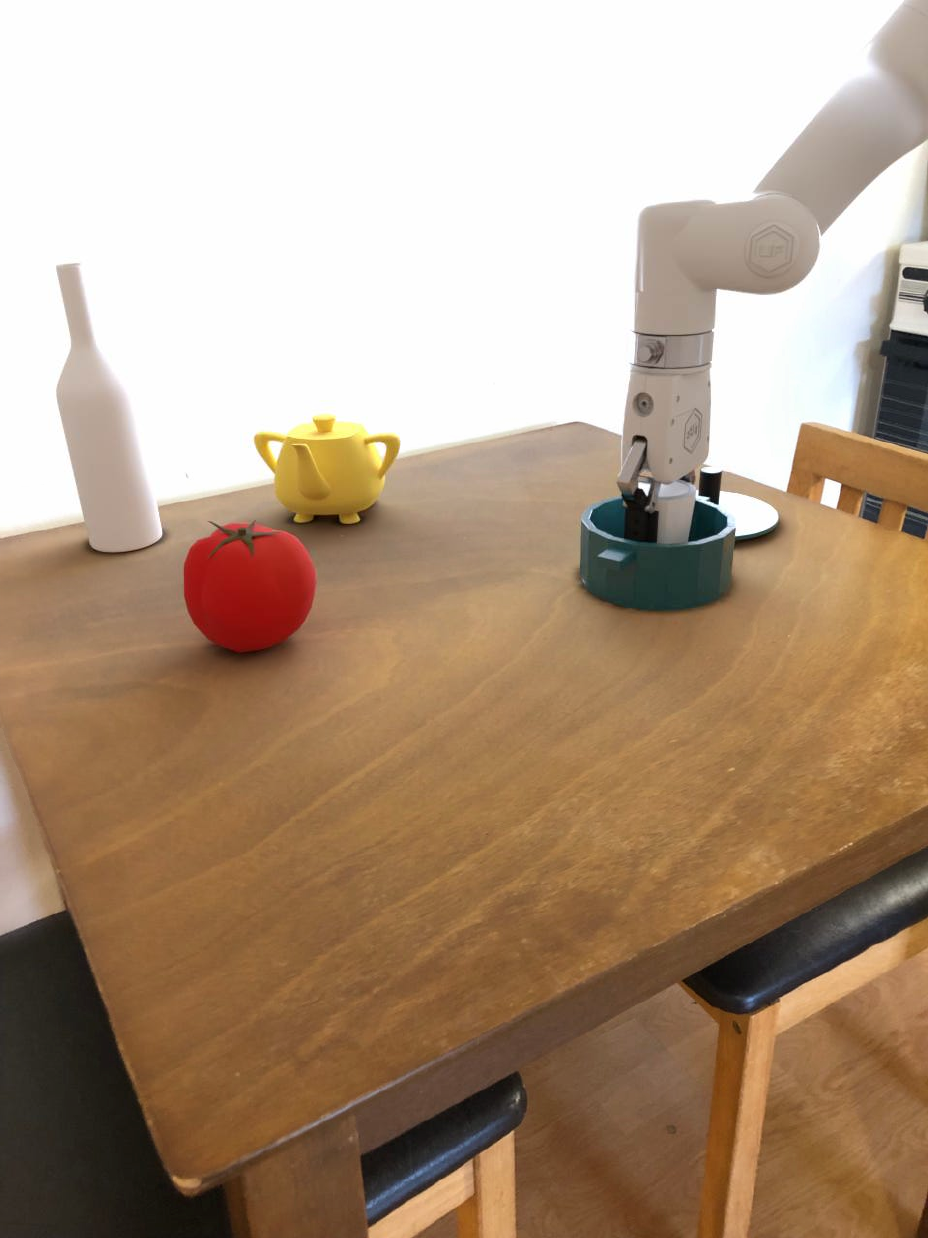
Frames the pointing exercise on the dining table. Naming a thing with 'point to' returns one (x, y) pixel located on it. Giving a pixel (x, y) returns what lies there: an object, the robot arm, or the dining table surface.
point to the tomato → (248, 586)
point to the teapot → (328, 467)
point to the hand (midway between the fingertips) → (657, 534)
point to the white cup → (674, 510)
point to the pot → (657, 559)
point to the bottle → (103, 432)
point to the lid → (738, 506)
